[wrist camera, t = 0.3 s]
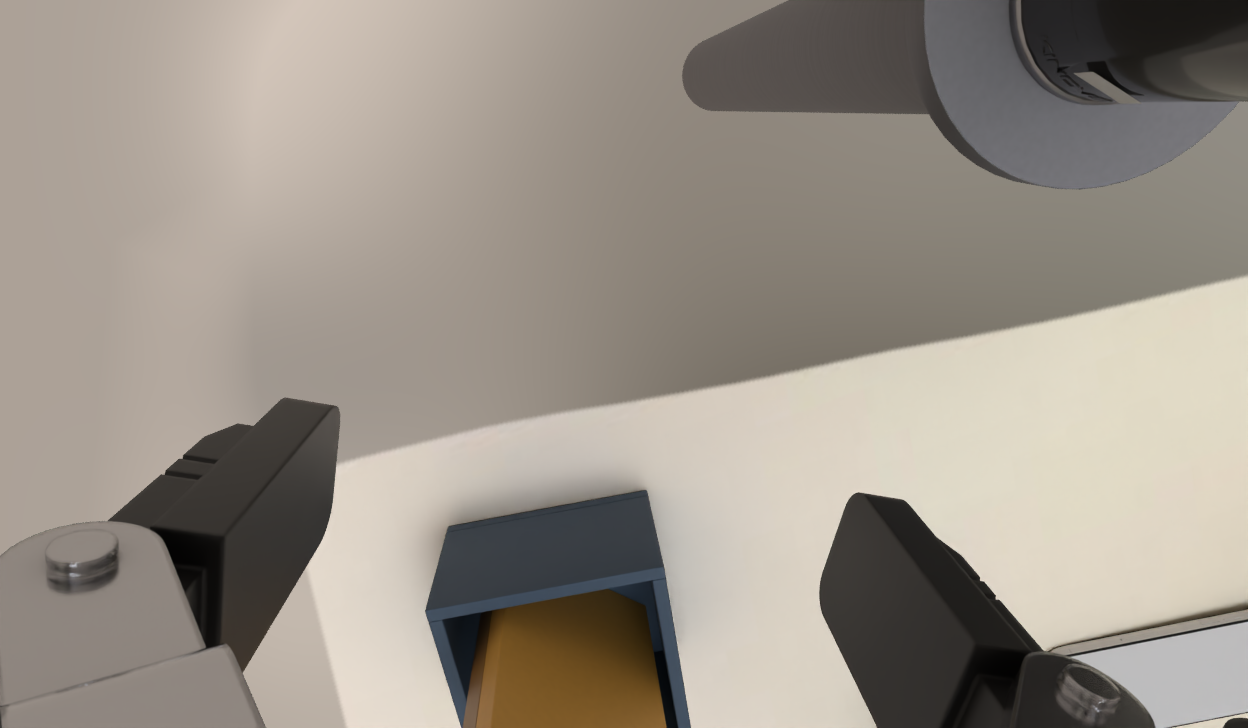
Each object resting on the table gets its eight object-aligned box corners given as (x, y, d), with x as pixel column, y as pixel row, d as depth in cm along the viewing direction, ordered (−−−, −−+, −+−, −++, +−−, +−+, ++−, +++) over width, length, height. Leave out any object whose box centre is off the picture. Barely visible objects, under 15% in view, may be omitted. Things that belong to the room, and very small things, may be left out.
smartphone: (1049, 658, 42) (1310, 607, 41) (1038, 644, 43) (1291, 594, 43) (1050, 752, 44) (1295, 704, 44) (1038, 737, 45) (1278, 690, 45)
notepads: (511, 544, 37) (489, 739, 25) (646, 605, 38) (681, 811, 27) (483, 589, 37) (450, 797, 26) (617, 646, 39) (640, 864, 28)
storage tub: (447, 525, 37) (424, 611, 30) (646, 489, 37) (664, 566, 31) (492, 683, 40) (479, 788, 34) (673, 649, 40) (694, 747, 34)
